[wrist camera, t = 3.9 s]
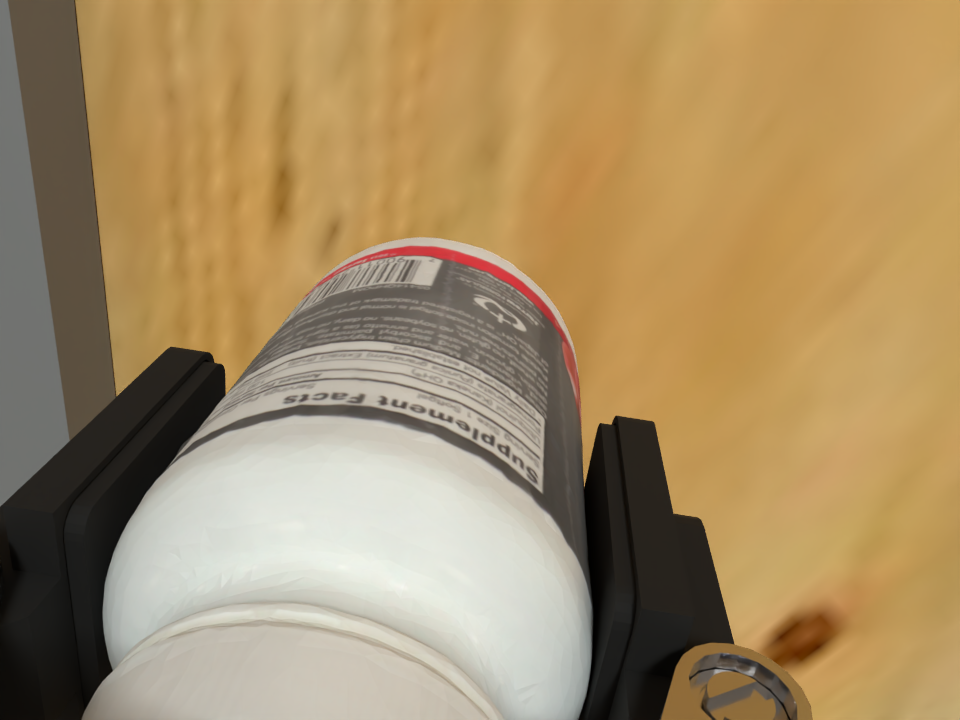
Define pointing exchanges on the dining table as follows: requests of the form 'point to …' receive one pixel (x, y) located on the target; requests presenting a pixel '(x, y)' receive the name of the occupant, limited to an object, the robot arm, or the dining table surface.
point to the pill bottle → (371, 515)
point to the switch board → (46, 245)
